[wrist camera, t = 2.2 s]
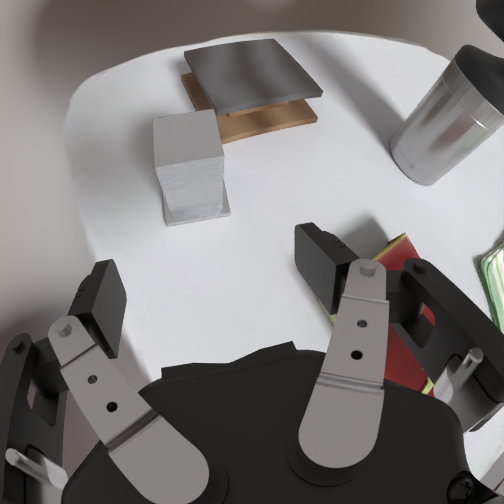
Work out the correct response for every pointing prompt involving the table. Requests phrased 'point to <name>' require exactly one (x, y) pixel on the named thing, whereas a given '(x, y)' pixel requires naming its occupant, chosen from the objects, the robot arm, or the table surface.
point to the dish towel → (494, 283)
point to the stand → (250, 87)
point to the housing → (190, 167)
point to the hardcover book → (398, 354)
